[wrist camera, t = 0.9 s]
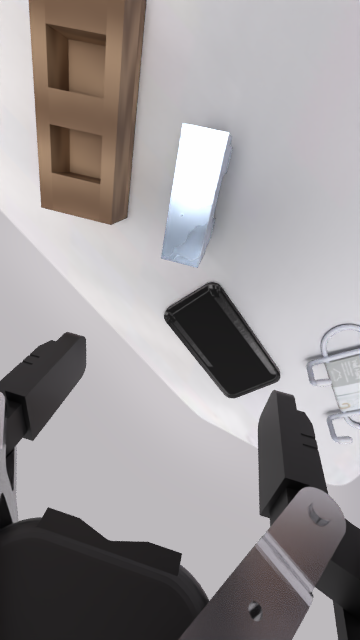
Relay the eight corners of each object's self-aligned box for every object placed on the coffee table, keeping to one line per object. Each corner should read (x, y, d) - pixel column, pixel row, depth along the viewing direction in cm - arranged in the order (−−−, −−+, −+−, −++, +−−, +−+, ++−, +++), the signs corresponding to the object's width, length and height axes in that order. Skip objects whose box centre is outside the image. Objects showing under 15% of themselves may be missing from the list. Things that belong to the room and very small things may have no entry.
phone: (214, 281, 30) (283, 379, 34) (215, 277, 31) (283, 373, 35) (159, 315, 34) (228, 400, 38) (161, 310, 34) (228, 395, 39)
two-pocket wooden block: (60, -15, 22) (25, -48, 19) (146, 0, 21) (126, -31, 18) (64, 202, 30) (41, 207, 27) (127, 217, 30) (111, 224, 26)
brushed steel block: (200, 133, 25) (182, 122, 18) (234, 141, 24) (229, 132, 18) (181, 236, 29) (161, 258, 22) (209, 243, 29) (197, 267, 22)
